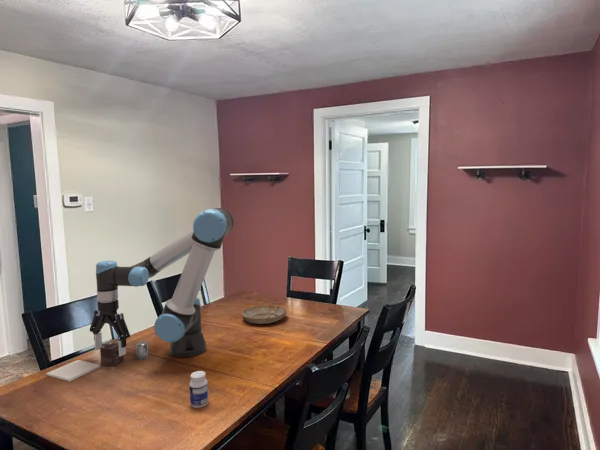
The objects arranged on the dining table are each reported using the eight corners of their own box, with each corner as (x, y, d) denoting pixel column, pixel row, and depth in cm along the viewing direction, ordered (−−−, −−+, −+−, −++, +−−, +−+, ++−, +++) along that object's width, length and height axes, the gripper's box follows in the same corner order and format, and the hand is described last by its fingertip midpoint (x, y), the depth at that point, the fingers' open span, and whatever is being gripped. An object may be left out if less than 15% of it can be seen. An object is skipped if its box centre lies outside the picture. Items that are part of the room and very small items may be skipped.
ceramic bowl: (295, 317, 217) (295, 308, 216) (268, 331, 197) (268, 320, 197) (260, 311, 229) (260, 302, 229) (232, 323, 210) (232, 313, 209)
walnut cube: (123, 350, 177) (123, 339, 176) (116, 355, 172) (115, 344, 172) (113, 350, 178) (112, 339, 177) (106, 354, 173) (105, 343, 172)
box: (114, 367, 161) (112, 349, 160) (100, 366, 162) (99, 348, 161) (123, 360, 167) (122, 343, 166) (110, 359, 168) (109, 342, 167)
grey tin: (150, 356, 170) (149, 342, 170) (142, 360, 166) (141, 346, 166) (142, 354, 172) (142, 340, 172) (134, 358, 168) (133, 344, 168)
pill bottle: (192, 399, 134) (190, 370, 133) (209, 398, 135) (208, 369, 134) (188, 409, 128) (187, 378, 128) (207, 407, 129) (205, 377, 128)
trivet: (100, 367, 161) (100, 365, 161) (69, 381, 149) (69, 379, 149) (78, 361, 166) (77, 359, 166) (46, 375, 155) (46, 373, 155)
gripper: (138, 301, 160) (140, 353, 162) (94, 294, 171) (97, 343, 173) (122, 306, 153) (125, 361, 155) (78, 298, 164) (80, 349, 166)
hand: (110, 352), depth 164 cm, fingers open, 13 cm apart
